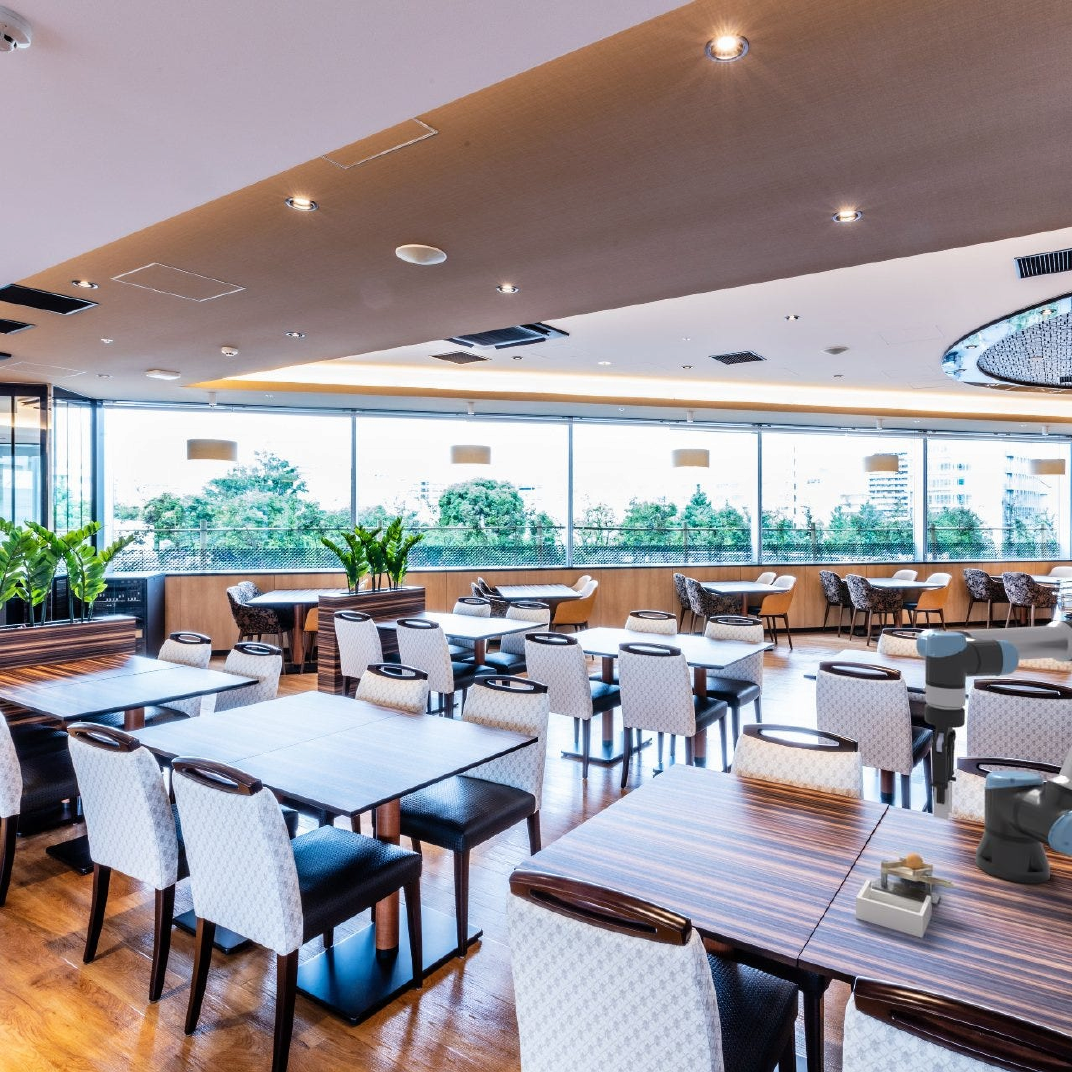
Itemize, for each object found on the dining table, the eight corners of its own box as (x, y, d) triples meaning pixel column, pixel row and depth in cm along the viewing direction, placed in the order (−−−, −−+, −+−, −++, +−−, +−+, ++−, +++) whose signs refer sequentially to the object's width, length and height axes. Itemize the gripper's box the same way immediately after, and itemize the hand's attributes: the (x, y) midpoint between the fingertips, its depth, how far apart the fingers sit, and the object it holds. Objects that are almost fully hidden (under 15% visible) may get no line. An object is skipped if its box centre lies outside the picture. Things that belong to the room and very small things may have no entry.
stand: (940, 897, 169) (940, 871, 169) (936, 906, 165) (936, 879, 165) (877, 880, 177) (877, 855, 177) (872, 888, 173) (872, 863, 172)
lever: (961, 885, 174) (962, 872, 175) (948, 889, 158) (949, 875, 159) (898, 869, 182) (899, 856, 183) (879, 871, 166) (880, 858, 166)
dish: (931, 915, 161) (932, 894, 161) (922, 937, 153) (922, 916, 153) (868, 897, 169) (868, 877, 169) (855, 918, 160) (856, 897, 160)
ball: (923, 869, 179) (924, 854, 179) (921, 873, 176) (921, 857, 176) (907, 865, 181) (908, 850, 181) (904, 868, 178) (905, 853, 178)
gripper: (931, 695, 171) (930, 798, 172) (917, 710, 158) (915, 822, 159) (970, 699, 167) (968, 806, 168) (958, 716, 153) (956, 831, 154)
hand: (942, 814), depth 163 cm, fingers open, 4 cm apart
